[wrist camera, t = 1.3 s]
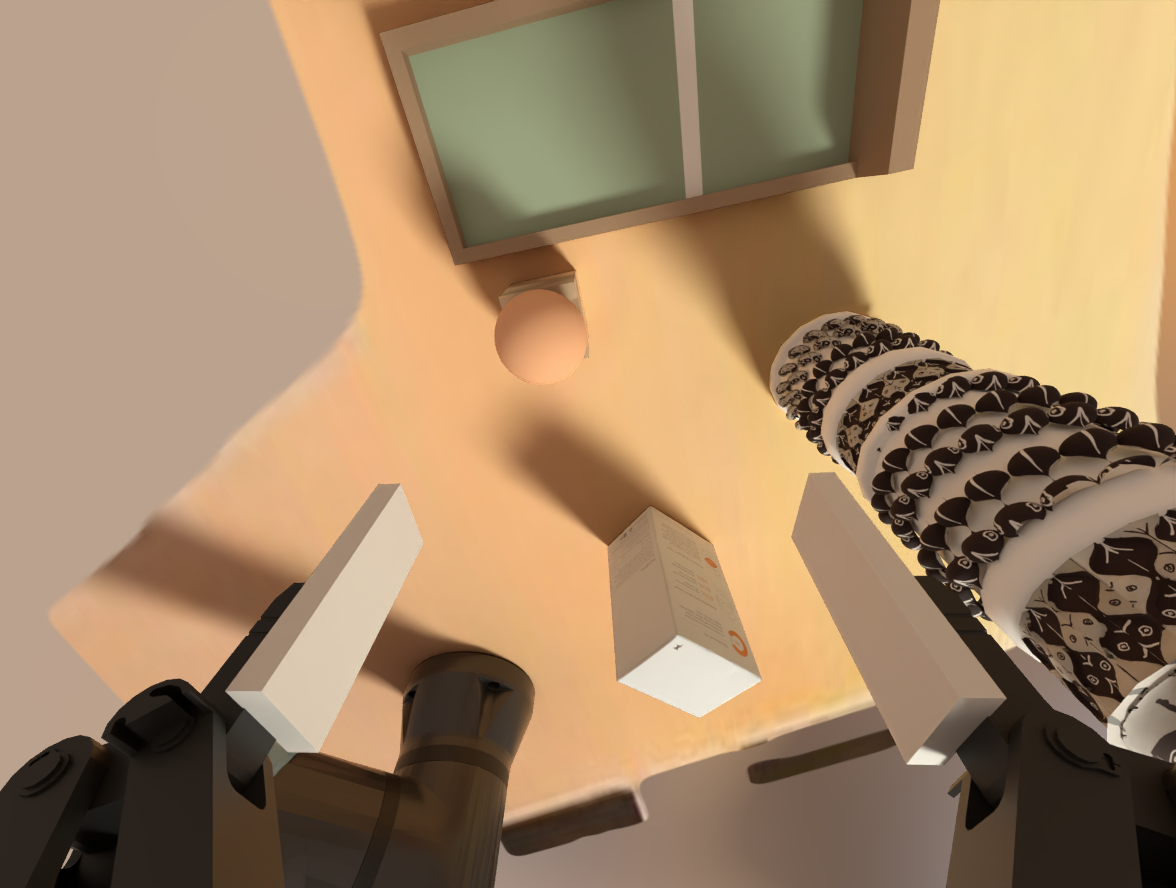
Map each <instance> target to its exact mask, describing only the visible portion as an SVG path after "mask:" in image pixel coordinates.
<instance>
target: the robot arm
mask: <svg viewBox="0 0 1176 888" xmlns="http://www.w3.org/2000/svg"><path fill="white" fill-rule="evenodd" d="M791 537H792V539H793V541H794V543H795V545H796V547H797V549H798V551H799V553H800V555H801V557H802V559H803V561H804V563H805V565H806V567H807V569H808V571H809V573H810V575H811V577H812V579H813V581H814V583H815V585H816V587H817V589H818V591H819V593H820V595H821V597H822V599H823V601H824V602H825V604H826V606H827V608H828V610H829V612H830V614H831V616H832V618H833V620H834V622H835V624H836V626H837V628H838V630H839V632H840V634H841V636H842V638H843V640H844V642H845V644H846V646H847V648H848V650H849V652H850V654H851V656H852V658H853V660H854V662H855V664H856V666H857V668H858V670H859V672H860V674H861V676H862V677H863V679H864V681H865V683H866V685H867V687H868V689H869V691H870V693H871V695H872V697H873V699H874V701H875V703H876V705H877V707H878V709H879V711H880V713H881V715H882V717H883V719H884V721H885V723H886V725H887V727H888V729H889V731H890V733H891V735H892V737H893V739H894V741H895V743H896V745H897V746H898V748H899V751H900V753H901V754H902V756H903V758H904V760H905V762H906V764H918V765H919V764H920V765H945V764H946V763H947V762H948V761H949V760H950V759H951V757H952V756H953V755H954V754H955V753H956V752H957V754H958V756H959V757H960V759H961V760H962V762H963V764H964V765H965V767H966V769H967V771H966V772H965V773H964V774H963V775H962V776H961V777H960V778H959V779H958V780H957V781H956V782H955V783H954V784H952V786H951V788H950V790H949V792H948V794H949V795H950V796H952V797H955V796H957V795H958V794H959V793H960V799H959V805H958V812H957V819H956V825H955V832H954V839H953V845H952V851H951V858H950V864H949V871H948V878H947V884H946V888H1176V764H1174V763H1170V762H1167V761H1164V760H1160V759H1157V758H1154V757H1150V756H1147V755H1144V754H1140V753H1137V752H1134V751H1130V750H1127V749H1124V748H1120V747H1117V746H1114V745H1112V744H1109V743H1108V742H1107V741H1106V740H1105V739H1103V738H1102V737H1101V736H1100V735H1098V734H1097V732H1095V731H1094V730H1093V729H1092V728H1090V727H1088V726H1087V725H1085V724H1083V723H1082V722H1080V721H1078V720H1077V719H1075V718H1074V717H1071V716H1069V715H1067V714H1064V713H1061V712H1059V711H1056V710H1054V709H1053V708H1052V707H1051V706H1050V705H1049V704H1048V703H1047V702H1046V701H1045V700H1044V699H1043V697H1042V696H1041V695H1040V694H1039V693H1038V692H1037V690H1036V689H1035V688H1034V687H1033V686H1032V684H1031V683H1030V682H1029V681H1028V679H1027V678H1026V677H1025V676H1024V675H1023V673H1022V672H1021V671H1020V670H1019V669H1018V668H1017V666H1016V665H1015V664H1014V663H1013V661H1012V660H1011V659H1010V658H1009V656H1008V655H1007V654H1006V653H1005V652H1004V650H1003V649H1002V648H1001V647H1000V646H999V644H998V643H997V642H996V641H995V640H994V638H993V637H992V636H991V635H988V634H987V630H986V629H985V628H984V626H983V625H982V624H981V623H980V622H979V620H978V619H977V618H974V617H973V615H972V614H973V613H972V612H971V611H970V610H969V608H968V607H967V606H966V605H965V604H964V602H963V601H962V600H961V599H960V598H959V596H958V595H957V594H956V593H955V592H954V591H952V590H951V589H950V588H948V587H947V586H946V585H944V584H943V583H942V582H940V581H939V580H938V579H936V578H935V577H933V576H913V575H912V573H911V572H910V571H909V569H908V568H907V567H906V566H905V564H904V563H903V562H902V560H901V559H900V558H899V556H898V555H897V554H896V552H895V551H894V550H893V548H892V547H891V546H890V545H889V543H888V542H887V541H886V539H885V538H884V537H883V535H882V534H881V533H880V531H879V530H878V529H877V527H876V526H875V525H874V524H873V522H872V521H871V520H870V518H869V517H868V516H867V514H866V513H865V512H864V510H863V509H862V508H861V506H860V505H859V504H858V503H857V501H856V500H855V499H854V497H853V496H852V495H851V493H850V492H849V491H848V489H847V488H846V487H845V485H844V484H843V483H842V482H841V480H840V479H839V478H838V476H837V475H836V474H835V472H831V473H809V475H808V478H807V482H806V486H805V489H804V493H803V496H802V500H801V504H800V507H799V511H798V515H797V518H796V522H795V525H794V529H793V533H792V536H791ZM423 543H424V542H423V540H422V537H421V535H420V532H419V530H418V527H417V524H416V522H415V519H414V517H413V514H412V511H411V509H410V506H409V504H408V501H407V499H406V496H405V493H404V491H403V488H402V486H401V484H378V486H377V487H376V488H375V490H374V491H373V492H372V494H371V495H370V496H369V498H368V499H367V500H366V502H365V503H364V505H363V506H362V507H361V509H360V510H359V511H358V513H357V514H356V515H355V517H354V518H353V519H352V521H351V522H350V523H349V525H348V526H347V527H346V529H345V530H344V532H343V533H342V534H341V536H340V537H339V538H338V540H337V541H336V542H335V544H334V545H333V546H332V548H331V549H330V550H329V552H328V553H327V554H326V556H325V557H324V558H323V560H322V561H321V563H320V564H319V565H318V567H317V568H316V569H315V571H314V572H313V573H312V575H311V576H310V577H309V579H308V580H307V581H306V583H294V584H293V585H291V586H290V587H289V588H288V589H287V590H285V591H284V592H283V593H282V594H280V595H279V596H278V597H277V598H276V599H275V600H274V601H273V602H272V603H271V605H270V606H269V607H268V609H267V610H266V611H265V612H264V614H263V615H262V616H261V620H260V621H257V623H256V624H255V625H254V626H253V628H252V629H251V630H250V632H249V635H248V636H246V637H245V638H244V639H243V640H242V642H241V643H240V644H239V646H238V647H237V648H236V649H235V651H234V652H233V653H232V654H231V656H230V657H229V658H228V660H227V661H226V662H225V663H224V665H223V666H222V667H221V668H220V670H219V671H218V672H217V674H216V675H215V676H214V677H213V679H212V680H211V681H210V682H209V684H208V685H207V686H206V688H205V689H204V690H203V691H202V693H201V694H200V693H199V692H198V691H197V690H196V689H195V688H194V687H193V686H192V685H190V684H189V683H188V682H186V681H184V680H182V679H171V680H165V681H163V682H160V683H158V684H155V685H153V686H151V687H149V688H147V689H146V690H144V691H142V692H141V693H139V694H138V695H136V696H134V697H133V698H132V699H131V700H130V701H129V702H127V703H126V704H125V705H124V706H123V707H122V708H120V709H119V710H118V712H117V713H116V714H115V715H114V716H113V718H112V719H111V720H110V721H109V723H108V724H107V726H106V728H105V730H104V733H103V735H102V737H101V738H102V739H104V740H105V741H107V742H108V743H107V744H104V745H101V744H100V743H98V742H97V741H95V740H94V739H92V738H90V737H87V736H82V735H79V736H75V737H71V738H67V739H64V740H62V741H60V742H58V743H56V744H54V745H52V746H50V747H48V748H46V749H45V750H43V751H42V752H41V753H39V754H38V755H36V756H35V757H33V758H32V759H30V760H29V761H28V762H27V763H26V764H25V765H24V766H23V767H22V768H20V769H19V770H18V771H17V772H16V773H15V774H14V775H13V776H12V777H11V778H10V780H9V781H8V782H7V783H6V785H5V786H4V787H3V788H2V790H1V791H0V888H494V885H495V877H496V869H497V862H498V855H499V846H500V840H501V832H502V825H503V817H504V810H505V802H506V795H507V786H508V779H509V773H510V768H511V765H512V762H513V760H514V758H515V755H516V753H517V751H518V748H519V746H520V743H521V741H522V739H523V736H524V734H525V732H526V729H527V727H528V724H529V722H530V720H531V717H532V713H533V705H534V696H535V690H534V686H533V683H532V682H531V680H530V678H529V677H528V676H527V675H526V674H525V673H524V672H523V671H522V670H521V669H519V668H518V667H516V666H515V665H513V664H511V663H509V662H507V661H505V660H503V659H500V658H497V657H494V656H490V655H486V654H480V653H471V652H457V653H448V654H443V655H439V656H435V657H433V658H430V659H428V660H426V661H424V662H423V663H421V664H420V665H419V666H417V667H416V668H415V670H414V671H413V673H412V674H411V677H410V679H409V682H408V685H407V687H406V690H405V693H404V697H403V709H402V727H401V743H400V754H399V758H398V761H397V764H396V767H395V770H394V773H393V774H391V773H388V772H385V771H382V770H379V769H375V768H371V767H368V766H364V765H361V764H357V763H354V762H350V761H347V760H343V759H340V758H337V757H334V756H330V755H327V754H324V753H321V752H319V751H320V749H321V747H322V745H323V743H324V741H325V739H326V737H327V735H328V733H329V731H330V729H331V727H332V725H333V723H334V721H335V719H336V717H337V715H338V713H339V711H340V709H341V707H342V705H343V703H344V701H345V699H346V697H347V695H348V693H349V691H350V689H351V687H352V685H353V683H354V681H355V679H356V677H357V675H358V673H359V671H360V669H361V667H362V665H363V663H364V661H365V659H366V657H367V655H368V653H369V651H370V649H371V647H372V645H373V643H374V641H375V639H376V637H377V635H378V633H379V631H380V629H381V627H382V625H383V623H384V621H385V619H386V617H387V615H388V613H389V611H390V609H391V607H392V605H393V603H394V601H395V599H396V597H397V595H398V593H399V591H400V589H401V587H402V585H403V583H404V581H405V579H406V577H407V575H408V573H409V571H410V569H411V567H412V565H413V563H414V561H415V559H416V557H417V555H418V553H419V551H420V549H421V547H422V545H423ZM70 848H71V849H73V852H72V854H71V856H70V858H69V860H68V861H67V863H66V864H65V866H64V867H63V869H61V867H62V865H63V863H64V861H65V859H66V856H67V854H68V852H69V850H70Z"/></svg>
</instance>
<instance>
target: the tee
mask: <svg viewBox="0 0 1176 888" xmlns="http://www.w3.org/2000/svg"><path fill="white" fill-rule="evenodd" d="M536 289H543V290H550V291H553V292H556V293H558V294H561V295H562V296H564V297H566V298H567V299H568V300H570V301H571V302H572V303H573V304H574V305H575V306H576V307H577V309H578V310H579V311H580V313H581V315H582V317H583V319H584V322H585V325H586V329H587V324H586V319H585V314H584V309H583V304H582V299H581V293H580V288H579V283H578V278H577V273H576V270H575V271H571V272H566V273H561V274H556V275H552V276H547V277H542V278H538V279H533V280H528V281H523V282H519V283H514V284H511V285H510V286H509V287H508V288H507V289H506V290H505V291H504V292H503V293H502V294H501V295H500V296H499V297H498V299H499V303H500V306H501V310H502V309H503V308H504V307H505V305H506V304H507V303H508V302H509V301H510V300H512V299H513V298H514V297H516V296H517V295H519V294H521V293H523V292H526V291H530V290H536ZM587 357H589V334H588V329H587V348H586V352H585V355H584V357H583V358H587Z"/></svg>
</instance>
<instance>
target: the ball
mask: <svg viewBox="0 0 1176 888" xmlns="http://www.w3.org/2000/svg"><path fill="white" fill-rule="evenodd" d="M495 345H496V350H497V352H498V355H499V357H500V359H501V361H502V363H503V364H504V365H505V367H506V368H507V369H508V370H509V371H510V372H511V373H512V374H513V375H515V376H516V377H517V378H519V379H521V380H523V381H525V382H528V383H532V384H538V385H546V384H552V383H556V382H559V381H561V380H563V379H565V378H567V377H568V376H569V375H571V374H572V373H573V372H574V371H575V370H576V369H577V367H578V366H579V365H580V363H581V362H582V360H583V357H584V355H585V352H586V348H587V329H586V325H585V322H584V319H583V317H582V315H581V313H580V311H579V310H578V309H577V307H576V306H575V305H574V304H573V303H572V302H571V301H570V300H568V299H567V298H566V297H564V296H562V295H561V294H558V293H556V292H553V291H550V290H543V289H536V290H530V291H526V292H523V293H521V294H519V295H517V296H516V297H514V298H513V299H512V300H510V301H509V302H508V303H507V304H506V305H505V307H504V308H503V309H502V311H501V313H500V315H499V317H498V319H497V322H496V326H495Z"/></svg>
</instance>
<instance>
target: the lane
mask: <svg viewBox="0 0 1176 888" xmlns="http://www.w3.org/2000/svg"><path fill="white" fill-rule="evenodd" d="M939 4H940V0H496V1H492V2H489V3H485V4H482V5H478V6H474V7H471V8H467V9H464V10H460V11H457V12H453V13H449V14H446V15H442V16H439V17H435V18H432V19H428V20H424V21H421V22H417V23H414V24H410V25H407V26H403V27H399V28H396V29H392V30H389V31H385V32H382V33H379V35H380V38H381V41H382V44H383V47H384V50H385V53H386V56H387V59H388V62H389V65H390V68H391V71H392V74H393V77H394V80H395V84H396V87H397V90H398V93H399V96H400V99H401V102H402V105H403V108H404V111H405V114H406V117H407V120H408V123H409V126H410V129H411V132H412V135H413V138H414V142H415V145H416V148H417V151H418V154H419V157H420V160H421V163H422V166H423V169H424V172H425V175H426V178H427V181H428V184H429V187H430V190H431V193H432V196H433V200H434V203H435V206H436V209H437V212H438V215H439V218H440V221H441V224H442V227H443V230H444V233H445V236H446V239H447V242H448V245H449V248H450V251H451V254H452V257H453V261H454V264H455V265H460V264H464V263H469V262H473V261H478V260H483V259H487V258H492V257H496V256H501V255H505V254H510V253H515V252H519V251H524V250H528V249H533V248H537V247H542V246H547V245H551V244H556V243H560V242H565V241H569V240H574V239H578V238H583V237H588V236H592V235H597V234H601V233H606V232H610V231H615V230H620V229H624V228H629V227H633V226H638V225H642V224H647V223H652V222H656V221H661V220H665V219H670V218H674V217H679V216H683V215H688V214H693V213H697V212H702V211H706V210H711V209H715V208H720V207H725V206H729V205H734V204H738V203H743V202H747V201H752V200H756V199H761V198H766V197H770V196H775V195H779V194H784V193H788V192H793V191H798V190H802V189H807V188H811V187H816V186H820V185H825V184H830V183H834V182H839V181H843V180H848V179H852V178H858V177H867V176H876V175H886V174H892V173H896V172H901V171H905V170H910V169H913V168H914V162H915V155H916V149H917V143H918V136H919V130H920V124H921V118H922V111H923V105H924V99H925V92H926V86H927V80H928V73H929V67H930V61H931V55H932V48H933V42H934V36H935V29H936V23H937V17H938V10H939Z"/></svg>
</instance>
